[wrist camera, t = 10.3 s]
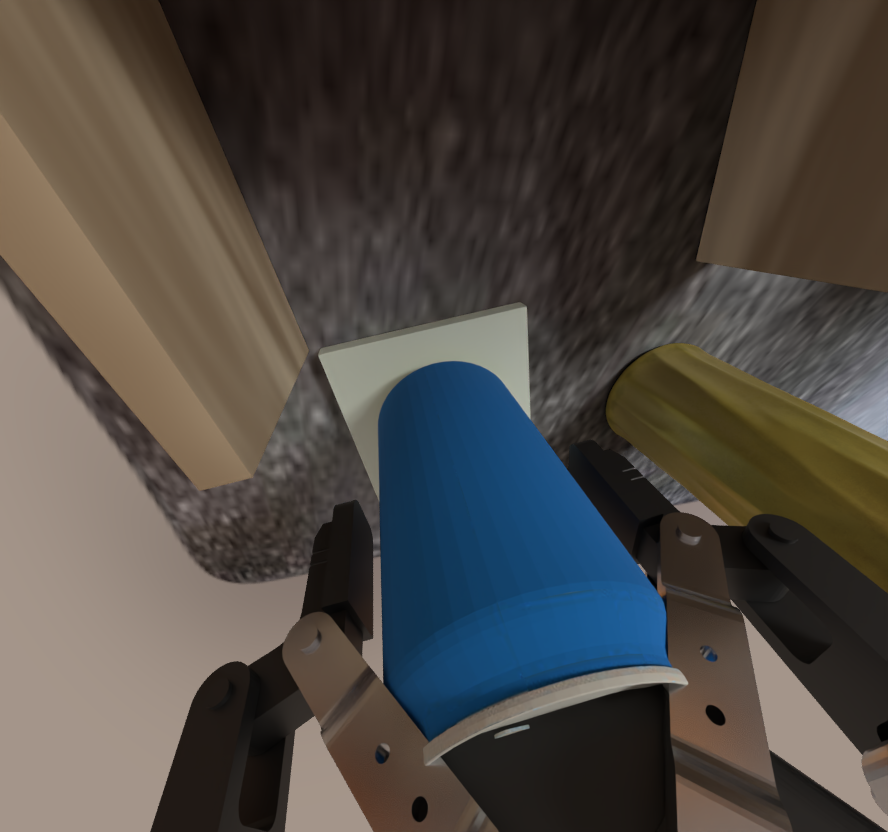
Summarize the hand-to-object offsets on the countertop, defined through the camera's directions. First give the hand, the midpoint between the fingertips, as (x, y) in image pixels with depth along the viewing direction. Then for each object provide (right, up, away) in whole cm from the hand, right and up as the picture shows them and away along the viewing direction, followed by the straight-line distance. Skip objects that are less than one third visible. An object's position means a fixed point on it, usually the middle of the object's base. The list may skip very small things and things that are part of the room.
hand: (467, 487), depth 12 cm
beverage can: (-1, +3, +4) cm, 5 cm away
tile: (-1, +3, +5) cm, 6 cm away
